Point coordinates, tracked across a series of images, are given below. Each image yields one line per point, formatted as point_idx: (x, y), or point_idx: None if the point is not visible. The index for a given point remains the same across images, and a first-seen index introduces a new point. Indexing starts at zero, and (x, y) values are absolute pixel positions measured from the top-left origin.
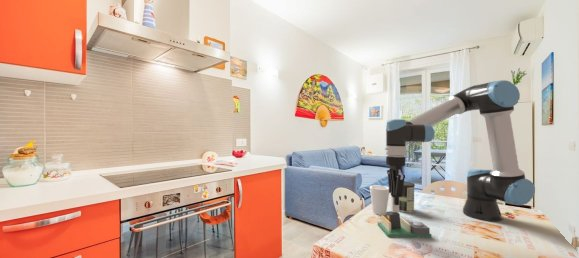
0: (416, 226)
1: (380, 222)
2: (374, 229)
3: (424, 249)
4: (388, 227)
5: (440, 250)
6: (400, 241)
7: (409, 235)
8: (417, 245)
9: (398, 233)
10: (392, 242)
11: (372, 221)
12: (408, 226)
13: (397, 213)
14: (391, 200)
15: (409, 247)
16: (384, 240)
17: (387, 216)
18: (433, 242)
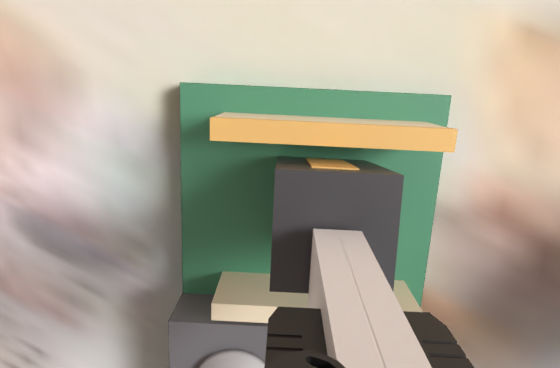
0: (202, 355)
1: (446, 123)
2: (344, 23)
3: (3, 252)
4: (234, 115)
5: (5, 339)
6: (110, 147)
7: (184, 254)
8: (57, 237)
9: (191, 178)
10: (86, 75)
11: (538, 80)
12: (216, 294)
13: (294, 277)
14: (400, 316)
15: (18, 166)
16: (117, 22)
17: (362, 168)
18: (116, 361)
